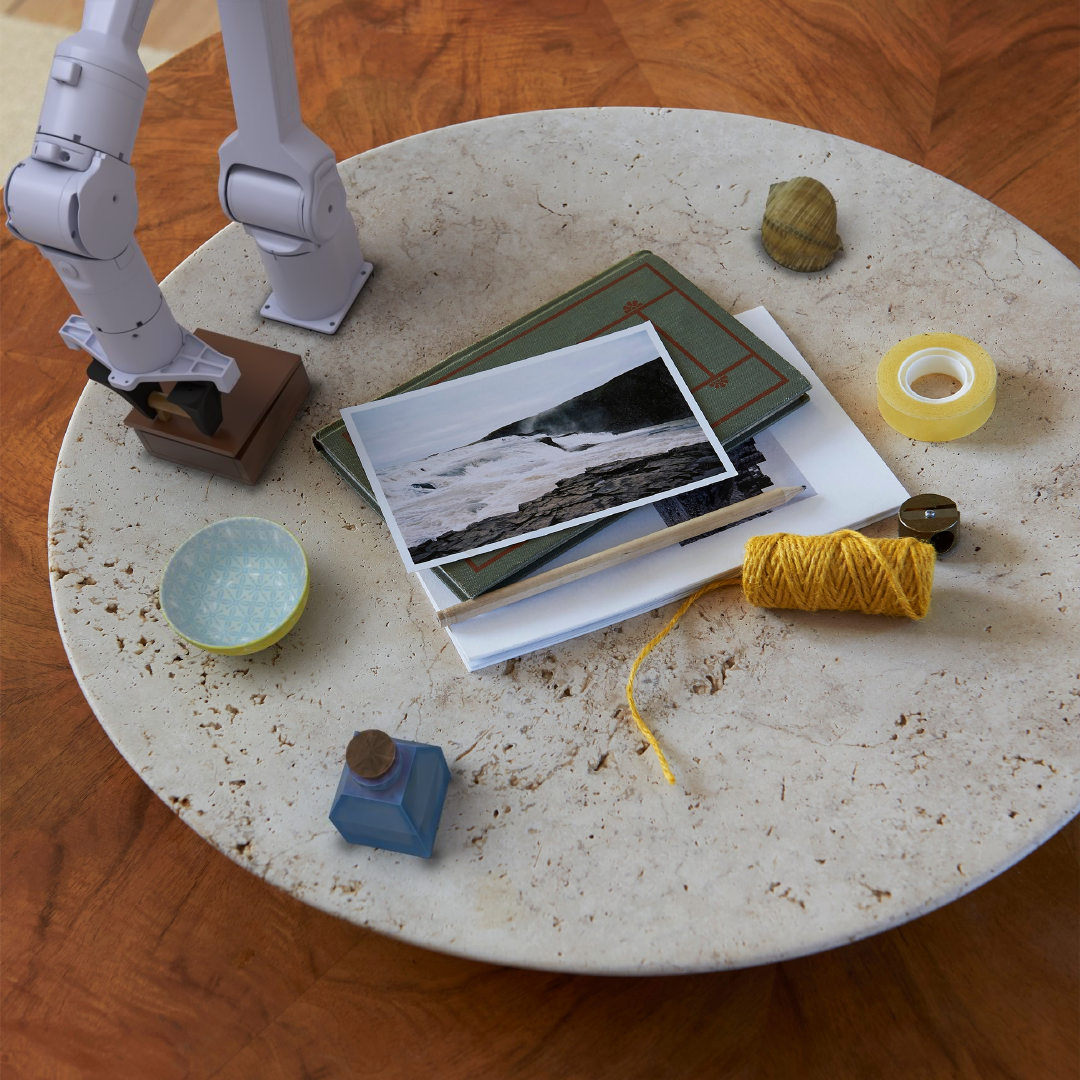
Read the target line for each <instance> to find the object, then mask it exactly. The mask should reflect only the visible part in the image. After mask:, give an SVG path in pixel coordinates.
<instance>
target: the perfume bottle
mask: <svg viewBox="0 0 1080 1080" xmlns="http://www.w3.org/2000/svg"><path fill="white" fill-rule="evenodd" d="M344 757H345V762H344V766H343V769H342V771H341V775H340V778H339V781H338V784H337V788H336V791H335V795H334V799H333V801H332V804H331V808H330V811H329V815H328V817H327V818H328V819H329V821H330V822H331V823H332V825H333V826H334V827H335V828H336V830H337V831H338V833H339V834H340V836H342V838H343V839H344V840H345V842H346V843H350V844H353V845H354V844H355V845H360V846H364V847H370V848H374V849H380V850H384V851H389V852H394V853H400V854H404V855H409V856H414V857H419V858H423V859H429V860H430V859H431V856H432V853H433V848H434V844H435V840H436V836H437V833H438V828H439V825H440V821H441V817H442V812H443V809H444V805H445V800H446V797H447V793H448V789H449V785H450V781H451V777H452V774H451V772H450V769H449V765H448V763H447V759H446V757H445V754H444V751H443V749H442V746H439V745H434V744H428V743H424V742H419V741H418V742H417V741H413V740H407V739H403V738H402V739H401V738H397V737H391V736H390V735H389V734H388V733H386V732H385V731H383V730H381V729H375V728H369V729H365V730H361V731H359V730H354V732H353V736H352V738H351V739H350V740H349V742H348V744H347V746H346V749H345V755H344Z"/></svg>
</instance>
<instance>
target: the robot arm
mask: <svg viewBox="0 0 1080 1080" xmlns="http://www.w3.org/2000/svg"><path fill="white" fill-rule="evenodd" d="M154 3H155V0H84V4H83V12H82V18H81V19H82V20H81V25H80V29H79V31H77V32H75V33H73V34H72V35H69V36H68V37H66V38H63V39H62V40H60V41H59V42H58V43H56V46H55V49H54V53H53V56H52V62H51V66H50V71H49V74H48V78H47V84H46V88H45V92H44V96H43V100H42V104H41V108H40V114H39V118H38V120H37V121H38V122H37V126H36V130H35V133H34V138H33V143H32V147H31V152H30V155H28V156H27V157H26V158H24V159H22V160H20V161H18V162H17V163H16V164H14V166H13V167H12V168H11V169H10V171H9V172H8V175H7V176H6V179H5V182H4V187H3V205H4V210H5V212H6V215H7V220H6V221H5V228H6V229H7V230H8V231H9V232H10V234H11V235H13V236H14V237H15V238H16V239H18V240H20V241H22V242H25V243H29V244H33V245H35V247H36V248H37V249H38V250H39V252H40V254H41V255H42V257H43V258H44V259H45V260H49V261H50V263H51V266H52V267H53V269H54V270H55V272H56V273H57V275H58V277H59V278H60V280H61V281H62V283H63V285H64V287H65V289H66V290H67V292H68V294H69V295H70V297H71V299H72V300H73V302H74V304H75V306H76V307H77V309H78V311H79V312H80V315H79V314H74V313H72V314H71V315H70V316H69V317H68V319H67V320H66V322H64V324H63V325H62V326H61V328H60V329H59V330H58V334H59V335H60V337H61V338H62V340H63V342H64V344H65V345H66V347H67V348H68V349H70V350H74V351H81V350H84V351H85V352H87V354H89V355H91V358H92V361H91V362H90V364H88V366H87V368H86V371H85V372H86V375H87V377H88V379H89V380H91V381H92V382H93V381H94V382H96V383H98V384H100V385H102V386H104V387H106V388H108V389H110V390H111V391H113V392H114V393H115V394H117V395H118V396H120V397H121V398H122V399H123V400H125V401H126V402H127V403H128V404H130V405H131V406H132V407H133V408H135V409H136V410H138V411H139V412H140V413H141V414H142V415H144V416H145V417H146V418H148V419H152V420H154V419H155V417H156V416H157V411H156V409H155V408H152V407H150V406H149V405H148V397H149V395H150V393H151V392H153V391H157V392H161V393H163V391H162V388H161V386H160V384H159V382H160V381H178V382H177V383H176V385H175V386H174V388H173V389H172V391H171V392H170V394H169V395H168V397H167V400H168V402H171V403H173V404H175V405H177V406H179V407H180V408H181V409H183V410H184V411H185V412H186V413H187V414H188V415H189V416H190V417H191V419H192V420H193V422H194V423H195V425H196V426H197V428H198V429H199V430H200V431H201V432H202V433H203V434H204V435H206V436H210V437H212V436H213V435H214V434H215V432H216V431H217V429H218V427H219V426H220V424H221V423H222V421H223V414H222V404H221V391H222V392H226V393H230V391H231V390H232V388H233V387H234V385H235V384H236V382H237V381H238V379H239V377H240V376H241V373H240V371H239V369H238V366H237V364H236V362H235V359H234V358H231V357H228V356H225V355H224V354H223V353H221V352H218V351H216V350H214V349H213V348H212V347H210V346H209V345H207V344H206V343H205V342H203V341H202V340H201V339H199V338H198V337H196V336H195V335H194V334H193V332H191V331H190V330H188V329H187V328H185V326H183V325H181V324H180V323H179V322H177V321H176V318H175V317H174V314H173V312H172V310H171V308H170V306H169V303H168V302H167V300H166V298H165V295H164V294H163V291H162V290H161V287H160V286H159V283H158V282H157V279H156V278H155V276H154V273H153V272H152V270H151V267H150V265H149V263H148V261H147V258H146V257H145V255H144V253H143V251H142V249H141V246H140V244H139V242H138V240H137V237H136V236H135V234H134V233H135V230H136V227H137V225H138V222H139V215H140V214H139V212H140V211H139V200H138V199H139V198H138V195H137V191H136V180H137V175H136V168H135V167H133V166H131V160H132V157H133V152H134V148H135V144H136V140H137V136H138V132H139V129H140V124H141V120H142V116H143V111H144V107H145V104H146V100H147V95H148V91H149V87H150V77H149V74H148V73H147V70H146V68H145V66H144V64H143V62H142V60H141V57H140V55H139V51H138V50H139V48H140V45H141V42H142V39H143V36H144V33H145V29H146V27H147V25H148V21H149V19H150V15H151V13H152V9H153V5H154ZM216 5H217V11H218V12H217V13H218V18H219V24H220V29H221V35H222V42H223V49H224V54H225V60H226V61H225V62H226V66H227V73H228V76H229V77H228V78H229V79H228V80H229V84H230V90H231V97H232V102H233V109H234V115H235V120H236V121H235V122H236V126H237V129H236V130H234V131H233V132H231V134H230V135H228V136H227V137H226V138H225V139H224V140H223V142H222V143H221V144H220V146H219V148H218V149H217V154H218V160H219V177H218V183H217V184H218V185H217V193H218V200H219V203H220V207H221V209H222V212H223V213H224V215H225V217H226V218H227V219H228V220H230V221H231V222H234V223H239V224H242V227H243V231H244V233H245V234H246V235H248V236H250V237H251V238H253V240H254V242H255V246H256V247H257V250H258V253H259V256H260V259H261V262H262V265H263V267H264V270H265V272H266V275H267V278H268V281H269V284H270V287H271V289H272V292H271V293H270V295H269V296H268V298H267V299H266V301H265V302H264V303H263V306H262V307H261V308H260V311H259V313H260V316H262V317H263V318H267V319H271V320H273V321H278V322H283V323H285V324H290V325H292V326H293V325H294V326H297V327H301V328H304V329H308V330H312V331H313V330H314V331H317V332H320V333H323V334H328V335H332V334H334V333H335V332H336V331H337V330H338V328H339V326H340V325H341V323H342V322H343V319H344V318H345V316H346V315H347V313H348V312H349V310H350V308H351V307H352V304H353V303H354V302H355V300H356V298H357V297H358V295H359V293H360V292H361V290H362V288H363V287H364V285H365V283H366V282H367V280H368V278H370V275H371V273H372V272H373V270H374V266H373V263H371V262H369V261H365V259H364V255H363V250H362V247H361V243H360V239H359V235H358V231H357V227H356V224H355V222H356V221H355V219H354V216H353V215H352V213H351V211H350V209H349V208H348V206H347V192H346V188H345V186H344V183H343V179H342V177H341V176H340V174H339V171H338V166H337V160H336V152H335V151H334V149H332V148H331V147H330V146H329V145H328V144H327V143H326V142H325V141H324V140H322V138H320V137H319V136H318V135H317V134H316V133H314V131H312V129H310V128H309V127H308V126H306V124H305V123H304V122H303V118H302V117H303V116H302V110H301V109H302V108H301V101H300V93H299V84H298V83H299V82H298V75H297V65H296V59H295V58H296V57H295V51H294V43H293V33H292V26H291V25H292V24H291V17H290V10H289V9H290V8H289V0H216Z"/></svg>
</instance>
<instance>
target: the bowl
mask: <svg viewBox="0 0 1080 1080" xmlns="http://www.w3.org/2000/svg"><path fill="white" fill-rule="evenodd" d="M310 573H311V572H310V567H309V561H308V558H307V555H306V552H305V550H304V548H303V546H302V544H301V543H300V541H299V539H298V538H297V537H296V536H295V534H293V533H292V532H291V531H290V530H288V528H286V527H285V526H283V525H281V524H279V523H278V522H276V521H274V520H271V519H267V518H262V517H259V516H252V515H251V516H250V515H240V516H233V517H228V518H224V519H220V520H217V521H215V522H214V521H213V522H212V523H209V524H207V525H205V526H203V527H201V528H200V529H198V530H196V531H195V532H193V533H192V534H191V535H189V536H188V537H187V538H186V539H184V541H182V542H181V544H179V545H178V547H177V548H176V549H175V550H174V552H173V553H172V554H171V555H170V557H169V559H168V560H167V562H166V564H165V566H164V568H163V571H162V573H161V576H160V580H159V585H158V601H159V605H160V609H161V613H162V614H163V616H164V618H165V621H166V622H167V623H168V625H169V626H170V627H171V629H172V630H173V631H174V632H175V633H176V634H177V635H178V636H179V637H181V638H182V639H183V640H185V642H187V643H189V644H190V645H192V646H193V647H196V648H197V649H200V650H203V651H205V652H208V653H211V654H214V655H215V654H216V655H221V656H222V655H223V656H244V655H245V656H246V655H250V654H254V653H258V652H260V651H263V650H265V649H267V648H269V647H271V646H273V645H275V644H276V643H278V642H279V641H280V640H282V639H283V638H284V637H285V636H286V635H287V634H289V632H290V631H291V630H292V629H293V628H294V627H295V626H296V624H297V623H298V621H299V620H300V618H301V617H302V615H303V613H304V610H305V609H306V605H307V602H308V599H309V594H310V588H311V587H310V586H311V585H310V584H311V574H310Z"/></svg>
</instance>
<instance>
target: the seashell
mask: <svg viewBox="0 0 1080 1080" xmlns="http://www.w3.org/2000/svg"><path fill="white" fill-rule="evenodd" d="M767 196H768V197H767V198H766V202H765V211H764V213H763V216H762V223H761V227H760V230H761V235H760V238H761V240H762V246H763V247H764V250H765V252H767V254H768V256H769V258H771V259H772V260H773V261H775V262H776V263H777V264H779V265H781V266H783V267H786V268H787V269H790V270H793V271H796V272H801V273H802V272H806V273H807V272H810V273H811V272H819V271H820V270H821V271H823V270H824V269H825V267H827V265H828V264H829V263H830V262H831V261H833V259H834V258H835V256H836V253H837V252H838V251H841V252H845V250H844V249H845V248H844V244H843V239H842V237H841V235H840V234H839V233H837V222H838V218H837V217H838V212H837V210H838V209H837V204H836V200H835V198H834V196H833V194H832V193H831V191H830V189H829V188H828V187H826V185H825V184H824V183H822V182H821V181H819V180H818V179H815V178H813V177H812V176H811V177H809V176H797V177H793V178H791V179H790V180H783V181H780V182H776V183H771V184H770V185H769V190H768V195H767Z"/></svg>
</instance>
